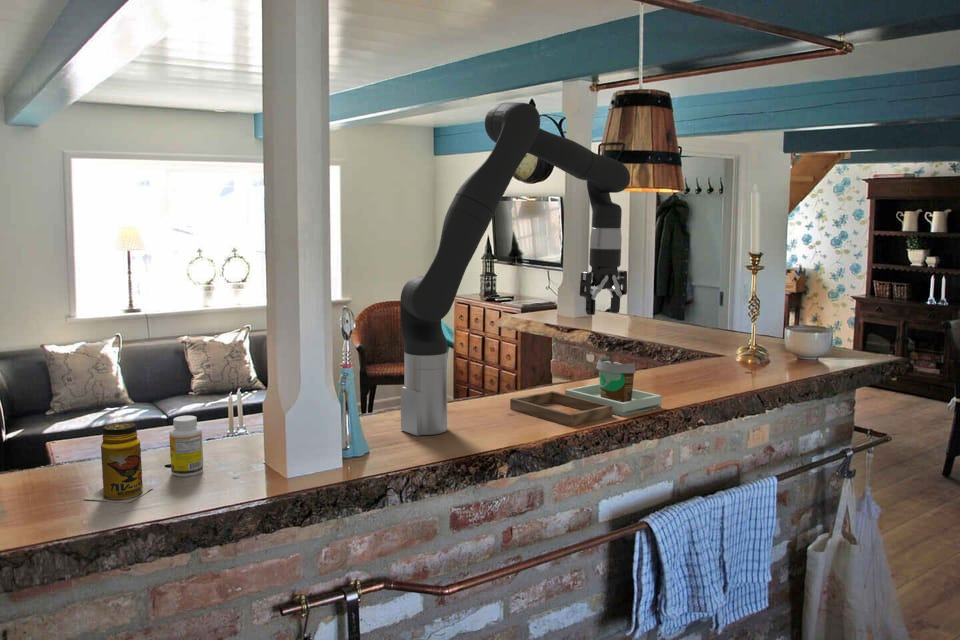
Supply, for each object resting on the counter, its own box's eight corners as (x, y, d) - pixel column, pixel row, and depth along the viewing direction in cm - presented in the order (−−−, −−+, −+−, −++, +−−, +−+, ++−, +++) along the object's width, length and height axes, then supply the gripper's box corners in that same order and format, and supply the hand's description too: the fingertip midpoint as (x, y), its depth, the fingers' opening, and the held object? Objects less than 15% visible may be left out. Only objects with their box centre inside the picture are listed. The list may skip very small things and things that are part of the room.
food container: (586, 396, 209) (587, 357, 207) (607, 394, 211) (608, 355, 210) (612, 407, 198) (613, 366, 196) (634, 405, 200) (636, 364, 199)
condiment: (130, 503, 135) (126, 431, 134) (82, 500, 137) (78, 429, 135) (154, 488, 143) (150, 420, 141) (108, 485, 144) (105, 418, 142)
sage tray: (622, 416, 193) (623, 403, 193) (564, 401, 208) (565, 389, 208) (661, 407, 202) (661, 395, 202) (602, 393, 217) (603, 382, 216)
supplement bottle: (177, 468, 154) (175, 414, 152) (207, 468, 154) (205, 414, 152) (166, 477, 148) (163, 421, 147) (197, 478, 148) (195, 422, 147)
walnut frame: (569, 426, 184) (569, 415, 184) (510, 409, 200) (510, 398, 199) (612, 416, 193) (612, 406, 193) (552, 400, 209) (552, 391, 208)
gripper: (596, 248, 193) (593, 317, 195) (637, 247, 202) (634, 313, 204) (573, 246, 199) (571, 313, 201) (613, 246, 208) (611, 310, 210)
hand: (602, 313), depth 202 cm, fingers open, 8 cm apart
